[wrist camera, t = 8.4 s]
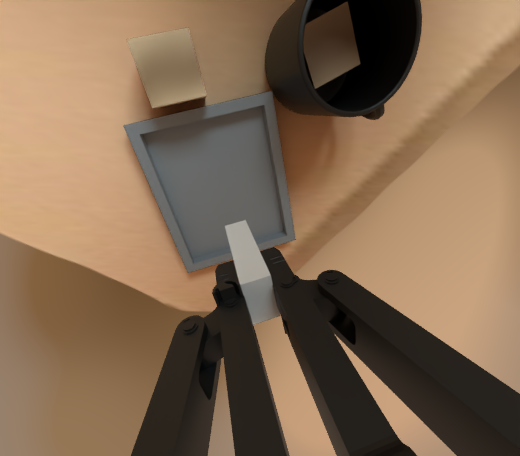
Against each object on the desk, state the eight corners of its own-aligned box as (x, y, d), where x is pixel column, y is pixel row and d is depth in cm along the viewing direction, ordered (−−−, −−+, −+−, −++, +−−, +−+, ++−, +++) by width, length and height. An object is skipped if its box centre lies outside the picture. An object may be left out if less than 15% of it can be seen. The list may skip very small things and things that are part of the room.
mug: (319, 149, 29) (365, 164, 21) (244, 62, 24) (269, 40, 16) (379, 82, 27) (454, 72, 19) (314, -27, 22) (381, -103, 14)
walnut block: (279, 42, 23) (296, 29, 19) (321, 19, 23) (347, 1, 19) (296, 91, 25) (315, 89, 21) (334, 70, 25) (360, 64, 21)
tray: (128, 124, 23) (123, 125, 22) (267, 91, 25) (272, 90, 23) (188, 264, 32) (187, 272, 30) (290, 233, 33) (295, 239, 32)
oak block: (139, 51, 21) (126, 39, 18) (189, 41, 22) (188, 27, 18) (159, 108, 24) (152, 108, 20) (205, 97, 24) (207, 95, 20)
